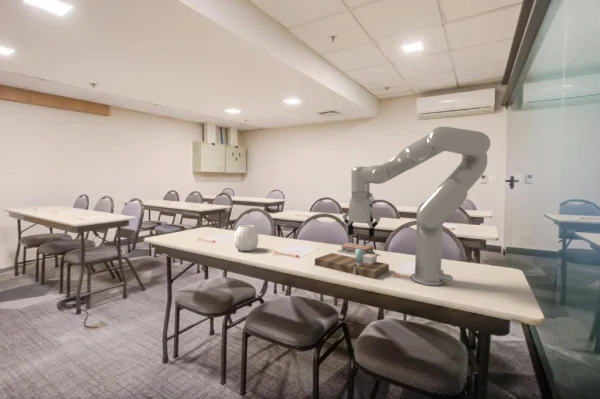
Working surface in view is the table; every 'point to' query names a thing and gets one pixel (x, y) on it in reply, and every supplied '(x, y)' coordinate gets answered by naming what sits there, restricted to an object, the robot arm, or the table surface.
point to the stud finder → (369, 258)
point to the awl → (359, 257)
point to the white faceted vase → (246, 238)
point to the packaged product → (351, 247)
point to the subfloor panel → (351, 265)
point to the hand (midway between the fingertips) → (360, 235)
